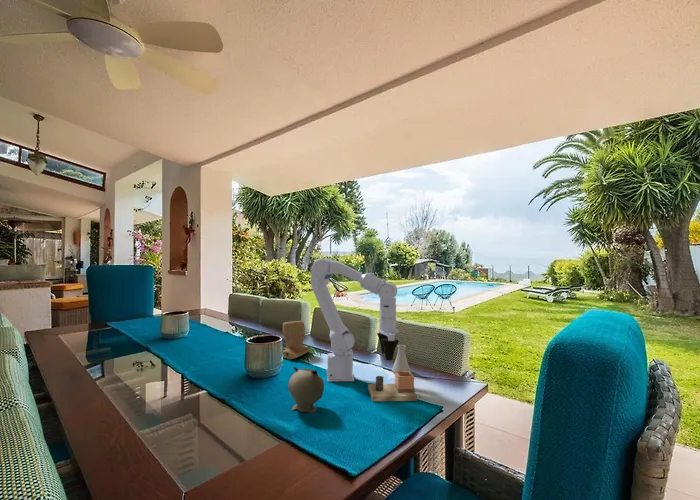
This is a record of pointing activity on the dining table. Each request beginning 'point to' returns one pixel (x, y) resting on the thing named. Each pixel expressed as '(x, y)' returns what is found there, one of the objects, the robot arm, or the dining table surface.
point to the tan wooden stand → (294, 339)
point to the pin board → (388, 392)
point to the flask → (401, 360)
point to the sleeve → (404, 382)
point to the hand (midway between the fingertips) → (386, 356)
